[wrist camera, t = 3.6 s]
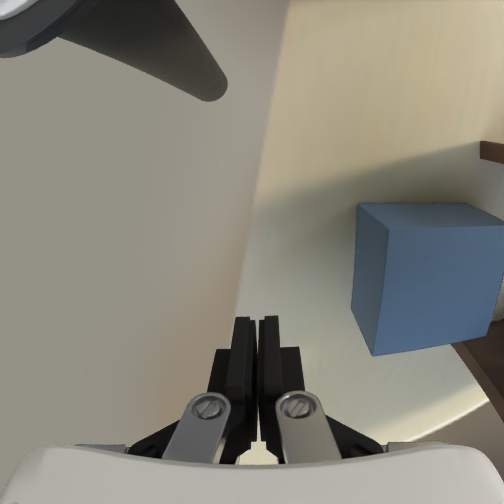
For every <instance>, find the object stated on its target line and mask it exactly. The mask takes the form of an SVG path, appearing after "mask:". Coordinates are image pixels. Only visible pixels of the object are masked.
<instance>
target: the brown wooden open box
mask: <svg viewBox="0 0 504 504" xmlns="http://www.w3.org/2000/svg"><path fill="white" fill-rule="evenodd" d="M480 158H481V159H484V160H489V161H493V162H497V163H501V164H504V144H500V143H493V142H487V141H481V142H480ZM451 345H452V346H453V348H454V349H455V350H456V352H457V353H458V354H459V356H460V357H461V359H462V360H463V362H464V363H465V364H466V366H467V367H468V369H469V370H470V372H471V373H472V374H473V376H474V377H475V379H476V380H477V382H478V383H479V385H480V386H481V388H482V389H483V391H484V392H485V394H486V395H487V397H488V398H489V400H490V402H491V403H492V405H493V406H494V408H495V409H496V411H497V413H498V414H499V416H500V417H501V419H502V421H503V422H504V320H500V321H496V322H492V323H490V325H489V328H488V331H487V334H486V336H482V337H478V338H474V339H469V340H465V341H460V342H455V343H451Z"/></svg>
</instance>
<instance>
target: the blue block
mask: <svg viewBox="0 0 504 504" xmlns="http://www.w3.org/2000/svg"><path fill="white" fill-rule="evenodd" d="M503 275H504V221H503V220H501V219H499V218H497V217H495V216H493V215H491V214H489V213H487V212H485V211H482V210H480V209H478V208H476V207H474V206H472V205H469V204H467V203H358V204H357V222H356V247H355V265H354V280H353V292H352V304H351V310H352V312H353V314H354V317H355V319H356V321H357V323H358V325H359V328H360V330H361V332H362V334H363V337H364V339H365V341H366V344H367V346H368V348H369V351H370V353H371V355H372V356H379V355H386V354H393V353H400V352H406V351H412V350H418V349H424V348H430V347H435V346H440V345H445V344H450V343H455V342H460V341H465V340H469V339H474V338H478V337H482V336H486V334H487V331H488V328H489V325H490V322H491V319H492V315H493V312H494V309H495V305H496V302H497V298H498V295H499V291H500V287H501V283H502V279H503Z"/></svg>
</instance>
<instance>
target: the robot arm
mask: <svg viewBox="0 0 504 504" xmlns="http://www.w3.org/2000/svg"><path fill="white" fill-rule="evenodd" d="M37 1H38V0H0V20H4V19H7V18H10V17H12V16H15V15H17V14H18V13H20V12H22V11H24V10H26V9H27V8H29V7H30V6H31V5H33V4H34V3H36V2H37ZM258 409H259V421H260V433H261V441H266V449H267V450H268V451H269V452H271V453H272V454H274V455H275V456H276V457H277V464H276V465H239V462H240V455H241V454H243V453H244V452H245V451H247V450H251V442H256V441H257V421H258ZM0 504H504V483H503V481H502V479H501V477H500V475H499V474H498V472H497V470H496V469H495V468H494V466H493V464H492V463H491V461H490V460H489V459H488V458H487V457H486V456H485V455H484V454H483V453H482V452H480V451H479V450H477V449H474V448H471V447H466V446H460V445H450V444H449V443H447V442H445V441H420V442H388V444H387V445H380V444H379V443H377V442H376V441H374V440H373V439H371V438H369V437H367V436H365V435H363V434H361V433H359V432H357V431H355V430H353V429H351V428H349V427H347V426H345V425H344V424H342V423H340V422H338V421H336V420H334V419H333V418H331V417H329V416H327V415H325V413H324V411H323V408H322V405H321V403H320V401H319V399H318V398H317V397H316V396H315V395H313V394H312V393H309V392H306V391H305V386H304V379H303V371H302V364H301V356H300V349H299V347H281V348H280V337H279V321H278V316H265V320H259V340H258V352H257V338H256V324H255V320H250V317H236V318H235V324H234V331H233V337H232V343H231V349H217V350H216V353H215V357H214V362H213V366H212V371H211V376H210V381H209V385H208V390H207V393H202V394H199V395H197V396H195V397H194V398H193V399H191V401H190V402H189V403H188V405H187V407H186V409H185V411H184V413H183V415H182V417H181V419H180V420H178V421H176V422H174V423H173V424H171V425H169V426H167V427H165V428H163V429H162V430H160V431H158V432H156V433H154V434H152V435H150V436H148V437H146V438H144V439H142V440H140V441H139V442H137V443H135V444H134V445H132V446H131V447H126V445H125V444H124V445H92V444H89V445H88V444H77V445H54V446H44V447H40V448H36V449H34V450H32V451H31V452H29V453H28V454H27V455H26V456H25V457H24V458H23V459H22V460H21V462H20V463H19V464H18V466H17V467H16V468H15V470H14V472H13V473H12V475H11V476H10V478H9V480H8V481H7V483H6V485H5V487H4V488H3V490H2V492H1V494H0Z"/></svg>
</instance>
